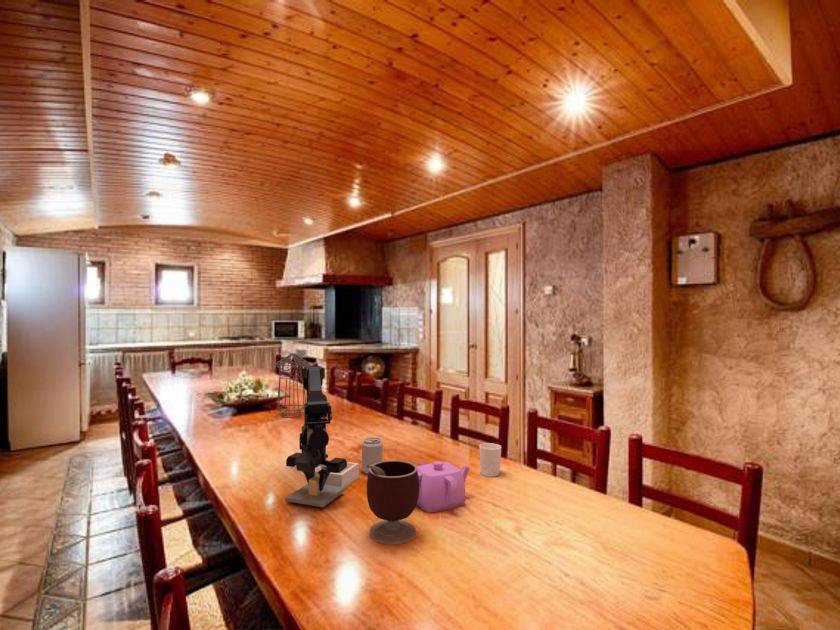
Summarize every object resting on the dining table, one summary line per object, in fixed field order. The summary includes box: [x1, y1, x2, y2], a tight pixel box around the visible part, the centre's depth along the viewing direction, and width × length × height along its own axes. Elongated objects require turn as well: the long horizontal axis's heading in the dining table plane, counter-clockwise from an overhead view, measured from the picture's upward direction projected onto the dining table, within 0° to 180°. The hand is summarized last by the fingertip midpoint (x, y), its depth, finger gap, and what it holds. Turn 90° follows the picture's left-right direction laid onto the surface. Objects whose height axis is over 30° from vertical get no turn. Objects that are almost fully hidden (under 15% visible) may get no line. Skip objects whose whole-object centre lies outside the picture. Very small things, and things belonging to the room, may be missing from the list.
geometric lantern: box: [274, 353, 310, 419], centre depth 250 cm, size 16×16×35 cm
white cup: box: [478, 442, 502, 478], centre depth 163 cm, size 8×8×10 cm
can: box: [361, 436, 384, 475], centre depth 164 cm, size 8×8×12 cm
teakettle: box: [416, 460, 471, 513], centre depth 138 cm, size 17×17×12 cm
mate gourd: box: [366, 459, 419, 546], centre depth 118 cm, size 16×14×20 cm
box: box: [315, 459, 360, 489], centre depth 154 cm, size 12×12×5 cm
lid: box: [285, 475, 346, 508], centre depth 139 cm, size 13×13×6 cm
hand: (316, 489), depth 139 cm, fingers closed on lid, 3 cm apart
